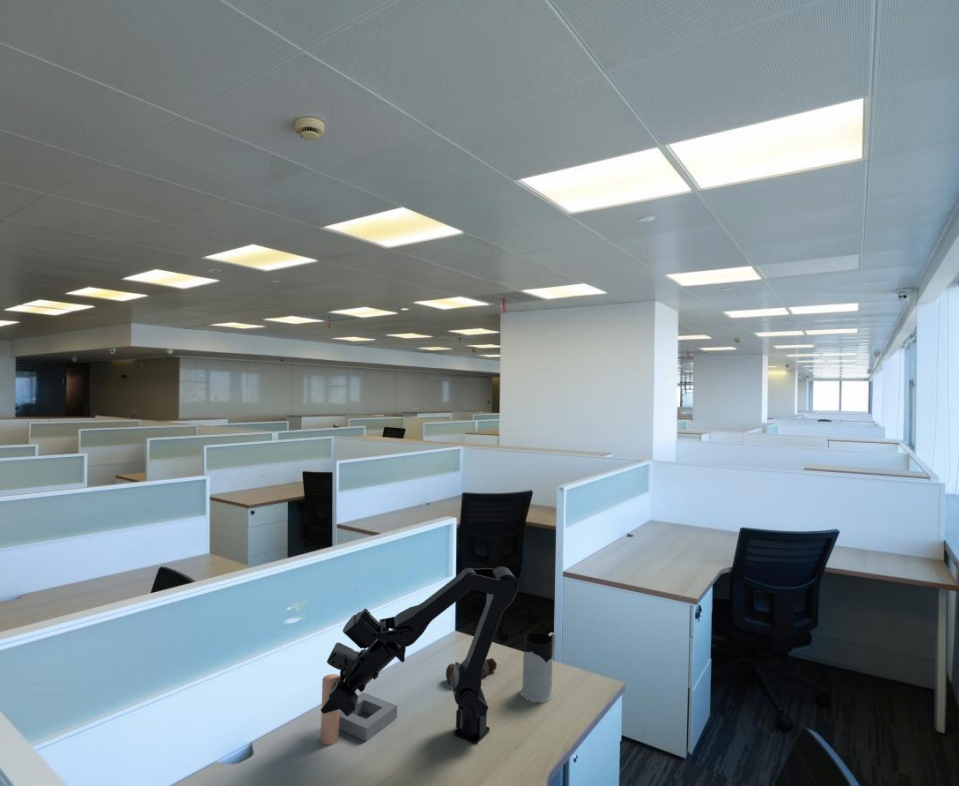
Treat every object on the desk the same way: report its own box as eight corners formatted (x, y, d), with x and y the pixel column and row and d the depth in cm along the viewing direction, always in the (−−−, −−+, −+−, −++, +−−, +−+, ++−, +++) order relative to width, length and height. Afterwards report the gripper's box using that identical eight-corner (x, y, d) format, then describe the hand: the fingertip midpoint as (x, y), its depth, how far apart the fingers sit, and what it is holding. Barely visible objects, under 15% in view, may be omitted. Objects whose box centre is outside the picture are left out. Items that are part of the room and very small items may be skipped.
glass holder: (514, 695, 149) (516, 639, 149) (539, 674, 161) (540, 622, 161) (544, 706, 144) (545, 648, 144) (567, 683, 156) (568, 630, 156)
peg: (342, 737, 129) (344, 677, 129) (329, 747, 125) (331, 684, 125) (329, 732, 131) (331, 672, 131) (316, 741, 127) (318, 679, 127)
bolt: (495, 677, 162) (451, 691, 153) (486, 662, 165) (443, 674, 156) (502, 664, 159) (458, 677, 151) (493, 649, 163) (450, 661, 154)
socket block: (396, 717, 137) (397, 705, 137) (366, 741, 128) (366, 728, 128) (362, 703, 143) (363, 692, 143) (331, 725, 133) (331, 713, 133)
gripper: (358, 617, 137) (312, 661, 137) (340, 653, 119) (286, 703, 119) (389, 650, 137) (343, 693, 137) (376, 691, 119) (322, 741, 119)
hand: (324, 706), depth 128 cm, fingers closed on peg, 4 cm apart
